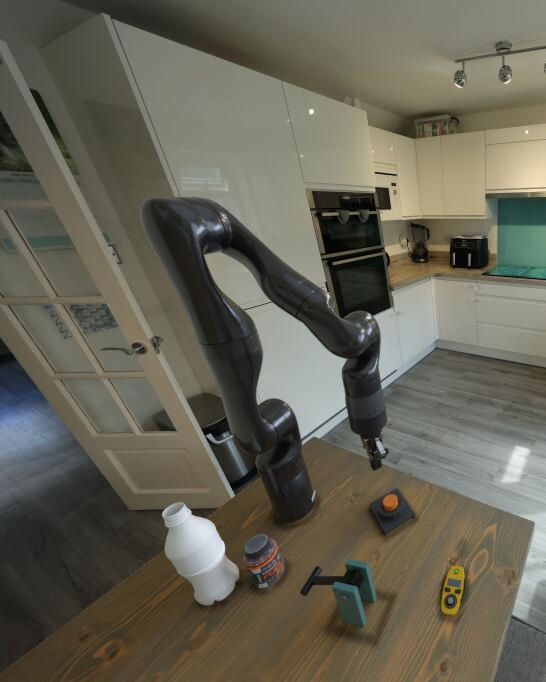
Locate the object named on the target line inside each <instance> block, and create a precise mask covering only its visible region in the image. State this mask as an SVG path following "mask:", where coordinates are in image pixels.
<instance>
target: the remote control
mask: <svg viewBox="0 0 546 682" xmlns="http://www.w3.org/2000/svg"><path fill="white" fill-rule="evenodd" d="M465 591H466V578H465V569H464V567H463V566H459V565H451V566H450V568H449V569H448V572H447V573H446V575H445V577H444V579H443V583H442V586H441V591H440V600H441V601H440V607H441V608H440V609H441V613H442V614H444V615H447V616H455V615H457V613H458V610H459V608H460V606H461V604H462V602H463V600H464V597H465Z"/></svg>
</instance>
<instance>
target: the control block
mask: <svg viewBox="0 0 546 682" xmlns="http://www.w3.org/2000/svg"><path fill="white" fill-rule="evenodd" d="M390 494H394V495H396V496H397V499H398V506H397V508H396V509H395V510H393V511H386V510H385V509H384V506H383V500H384V498H385V497H386V496H388V495H390ZM368 505H369V510H370V511H371V512H372V514H373V515H374V517H375V518H376V520H377V522H378V525H379V527H380V528H381V530H382V532H383V533H384V535H385V536H386V535H388V534H390V533H391V532H393V531H394V530H395V529H397V528H399V527H400V526H402V525H403V524H405V523H406V522H408V521H409V520H411V519H412V520H416V513H415V512H414V510H413V508H411V506H410V504H409V503H408V501H407V500H406V498H405V497H404V496H403V494H402V492H401V491H400V490H399V488H398V487H397V488H394V489H393V490H391V491H389V492H388V493H386V494H384V495H383V496H381V497H379V498H377V499H376V500H373V501H372V502H370V503H369V504H368Z"/></svg>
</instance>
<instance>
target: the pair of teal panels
mask: <svg viewBox="0 0 546 682" xmlns="http://www.w3.org/2000/svg"><path fill="white" fill-rule="evenodd" d="M344 567H345V570H346V571H347V570H359V571H360V573H361V574H362V576H363V577H364V580H363V582H362V584H361V586H360V588H359V590H358V588H357V587H356V586H352V585H348V584H344V583H339V582H334V584H333V585H331V591H332V592H333V595H334V596H333V597H334V599H335V602H336V606H337V608H338V611H339V614H340V617H341V619H342V622H343V623H346V624H349V625H350V624H351V625H354V626H358V627H362V628H364V627H365V626H366V624H367V617H366V614H365V613H366V612H365V610H364V606H363V603H362V600H363V601H366V602H369V603H375V602H376V600H377V598H378V596H377V592H376V587H375V584H374V579H373V575H372V572H371V566H370V563H369V562H366V561H361V560H358V559H352V558H347V559H346V560H345V562H344Z"/></svg>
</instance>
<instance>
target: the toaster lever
mask: <svg viewBox="0 0 546 682" xmlns="http://www.w3.org/2000/svg"><path fill="white" fill-rule="evenodd" d="M322 571H323V569H322V567H321V566H319V565H316V566H315V567H314V568H313V570H312V572H311V574H310V575H309V577H308V578H307V580H305V581H306V582H305V583H304V584H303V586H302V588H301V590H300V591H299V594H300V595H302V596H303V597H307V596H308V594H309V593H310V592H311V590H312V588H313V586H333V584H334V582H339V583H344V584H348V585H352V586H356V587H357V588H358V590H359V588H360V586H361V584H362V582H363V580H364V577H363V576H362V574H361V573H360V571H359V570H346V571H345V572H344V574H343V575H320V574H321V573H322Z"/></svg>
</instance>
